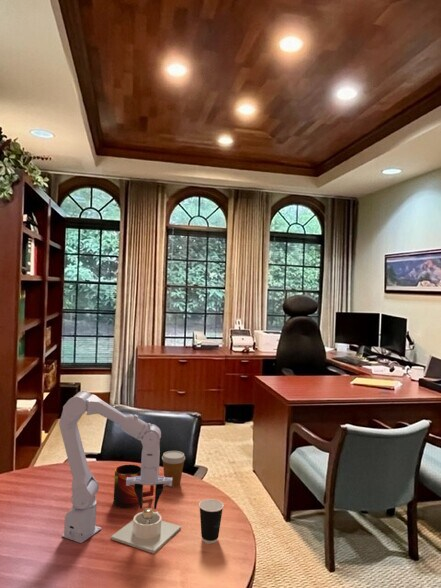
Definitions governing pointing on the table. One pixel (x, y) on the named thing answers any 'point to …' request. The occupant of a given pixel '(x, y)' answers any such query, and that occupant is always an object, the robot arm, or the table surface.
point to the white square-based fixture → (146, 533)
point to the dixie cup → (210, 519)
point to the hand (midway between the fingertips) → (148, 507)
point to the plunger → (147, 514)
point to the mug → (127, 487)
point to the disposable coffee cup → (173, 466)
